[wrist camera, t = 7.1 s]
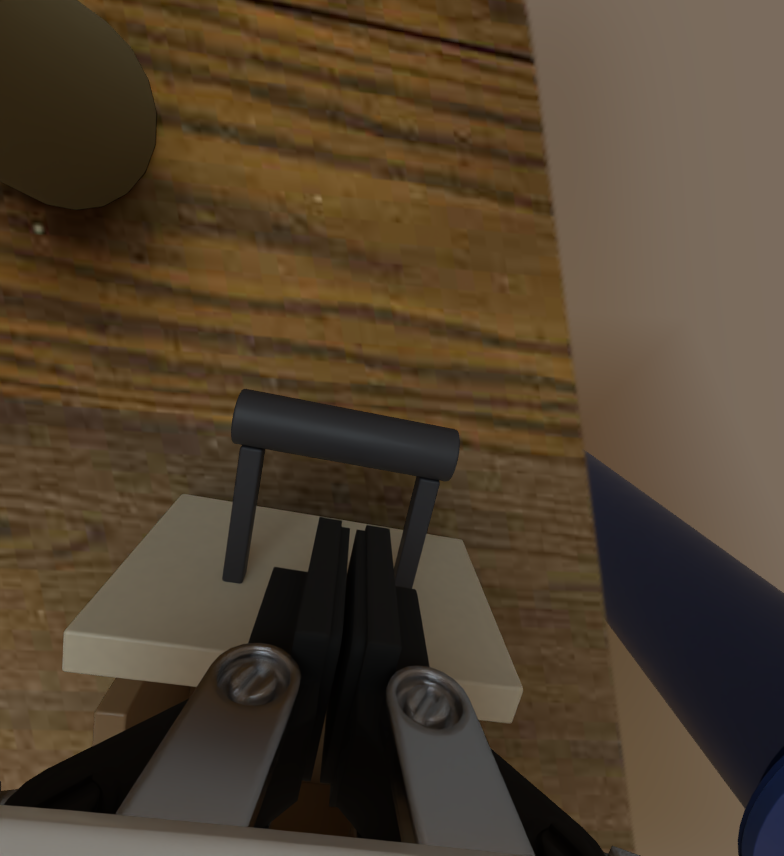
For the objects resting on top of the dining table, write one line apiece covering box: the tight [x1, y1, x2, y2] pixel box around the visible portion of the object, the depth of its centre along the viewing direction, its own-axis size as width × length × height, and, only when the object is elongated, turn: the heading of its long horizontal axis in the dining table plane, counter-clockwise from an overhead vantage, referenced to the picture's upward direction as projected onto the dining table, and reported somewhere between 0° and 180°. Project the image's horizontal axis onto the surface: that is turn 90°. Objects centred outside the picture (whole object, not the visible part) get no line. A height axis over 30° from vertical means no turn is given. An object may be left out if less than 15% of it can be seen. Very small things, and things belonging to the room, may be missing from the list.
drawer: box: [62, 389, 523, 837], centre depth 16 cm, size 19×11×8 cm, turn 168°
